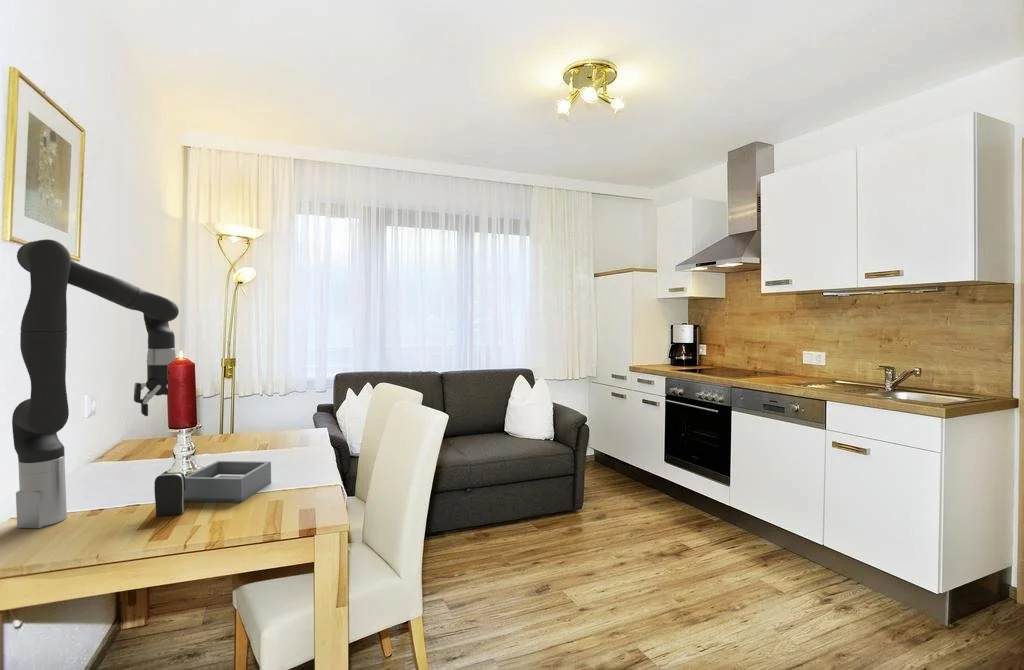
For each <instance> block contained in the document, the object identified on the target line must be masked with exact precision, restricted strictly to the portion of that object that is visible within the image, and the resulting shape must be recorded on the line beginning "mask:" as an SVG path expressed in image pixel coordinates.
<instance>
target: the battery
mask: <svg viewBox="0 0 1024 670" xmlns="http://www.w3.org/2000/svg"><path fill="white" fill-rule="evenodd" d="M185 476H186V475H185V474H184V473H182V472H166V473H161V474H159V475H157V476H156V477H155V479H154V487H153V488H154V501H155V516H156V517H165V516H166V517H167V516H176V515H182V514H183V513H184V512H185V504H184V503H185V501H184V490H185Z"/></svg>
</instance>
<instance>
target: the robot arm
mask: <svg viewBox="0 0 1024 670" xmlns="http://www.w3.org/2000/svg"><path fill="white" fill-rule="evenodd" d="M17 250H18V251H17V252H16V253H17V254H16V260H17V263H18V264H19V266H20V267H21V268H22V269H23V270H25V271H26V272H28V273H29V274H30V275H29V276H30V278H29V279H30V293H29V296H28V297H29V298H28V300H27V304H26V306H25V308H24V311H23V315H22V318H21V322H20V323H21V324H20V332H19V335H20V337H19V338H20V340H19V341H20V343H19V345H20V346H19V347H20V352H21V353H20V354H21V357H22V359H23V362H24V366H25V368H26V371H27V373H28V375H29V380H30V398H27V399H25V400H23V401H21V402H20V403H18V405H17V406H15V408H14V411H13V413H12V418H11V420H12V421H11V425H12V438H13V447H14V450H15V452H16V454H17V460H18V487H19V490H17V491H16V492H15V504H16V505H15V508H16V528H18V529H19V528H20V529H42V528H43V527H47V526H50V525H54V524H58V523H60V522H62V521H64V520H65V519H67V517H68V511H67V508H68V507H67V486H66V484H67V483H66V462H65V461H66V459H65V458H66V456H65V455H66V454H65V446H64V444H63V443H62V442H61V441H60V439H59V436H58V434H57V433H58V432H60V431H61V430H62V429H63V428H64V427H65V426H66V424H67V423H68V419H69V415H70V412H69V410H70V409H69V403H68V394H67V393H68V392H67V383H66V382H67V381H66V373H67V347H68V346H67V345H68V322H67V321H68V320H67V319H68V318H67V317H68V314H67V313H68V309H67V308H68V307H67V289H68V285H71V286H73V287H76V288H79V289H82V290H84V291H87V292H89V293H91V294H93V295H96V296H98V297H100V298H102V299H104V300H106V301H109V302H111V303H114V304H116V305H118V306H120V307H123V308H125V309H127V310H131V311H137V312H140V313H142V314H143V321H144V325H145V328H146V333H147V353H146V371H147V373H146V375H147V376H146V378H147V379H146V382H135V383H134V387H133V388H134V390H133V401H134V402H135V403H137V404H140V410H141V411H140V413H141V414H142V415H143V416H144V417H148V416H149V404H148V402H150V400H151V399H153V397H154V396H156V397H159V396H164V395H165V396H169V395H168V380H167V365H168V364H170V363H171V362H172V361H174V360H175V359H177V356H176V355H177V353H176V349H175V348H176V341H175V340H176V339H175V333H174V331H173V330H171V329H170V323H169V322H172V321H174V320H175V319H177V317H178V316H179V310H180V309H179V306H178V305H177V304H176V303H175V302H174V301H172V300H171V299H169V298H167V297H163V296H162V295H159V294H155V293H153V292H149V291H147V290H144V289H142V288H140V287H138V286H136V285H135V284H132V283H130V282H128V281H126V280H124V279H121V278H119V277H116V276H113V275H112V274H111V275H110V274H107V273H104V272H102V271H97V270H95V269H92V268H89V267H87V266H85V265H83V264H80V263H78V262H76V261H74V260H72V258H71V257H72V256H71V254H70V253H71V252H69V250H68V248H67V247H66V246H65V245H64V244H63V243H61V242H60V241H58V240H55V239H47V238H46V239H39V240H33V241H29V242H27V243H24V244H22V246H20V247H19V249H17ZM172 364H173V363H172ZM168 374H169V371H168ZM169 378H170V377H169ZM145 387H146V389H147V392H146V394H145V395H144V396H143V397H141V396H142V395H141V394H142V391H143V390H145V389H144V388H145Z"/></svg>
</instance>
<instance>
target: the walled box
mask: <svg viewBox="0 0 1024 670" xmlns="http://www.w3.org/2000/svg"><path fill="white" fill-rule="evenodd" d="M184 476H185V490H184V502H186V501H189V502H192V503H193V502H195V503H196V502H198V503H200V502H201V503H203V502H204V503H243V502H245V501H246V500H247V499H249V498H251V497H252V496H253V495H255V494H256V493H258V492H259V491H260V490H263V489H264V488H265V487H267V486H268V485H269V484H272V462H271V461H256V460H255V461H249V460H244V461H243V460H216V461H215V462H213V463H211V464H208V465H206V466H204V467H202V468H200V469H198V470H195V471H193V472H192V473H189V474H188V475H184ZM189 502H188V503H189Z"/></svg>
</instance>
